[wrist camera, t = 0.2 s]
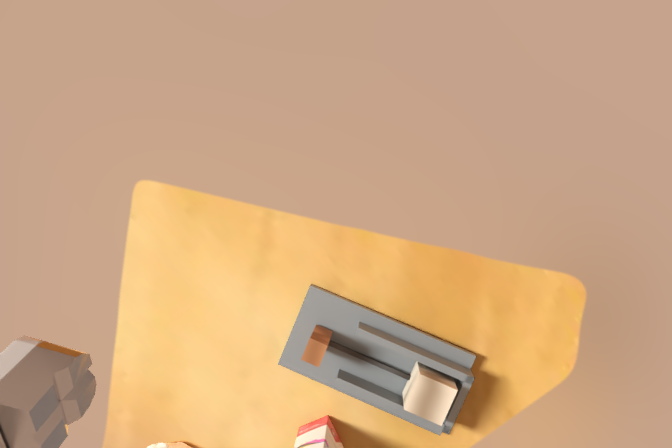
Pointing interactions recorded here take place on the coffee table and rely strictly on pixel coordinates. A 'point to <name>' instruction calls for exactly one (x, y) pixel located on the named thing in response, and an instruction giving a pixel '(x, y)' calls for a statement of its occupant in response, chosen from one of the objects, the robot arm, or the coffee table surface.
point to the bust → (169, 445)
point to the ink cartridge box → (318, 435)
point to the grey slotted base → (374, 355)
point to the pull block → (423, 383)
